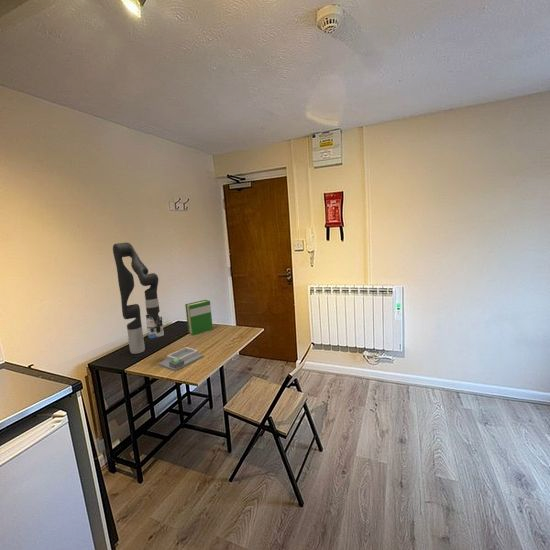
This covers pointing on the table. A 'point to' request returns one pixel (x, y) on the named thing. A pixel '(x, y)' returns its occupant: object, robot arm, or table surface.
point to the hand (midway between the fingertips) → (155, 331)
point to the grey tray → (181, 358)
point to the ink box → (153, 329)
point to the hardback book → (199, 317)
